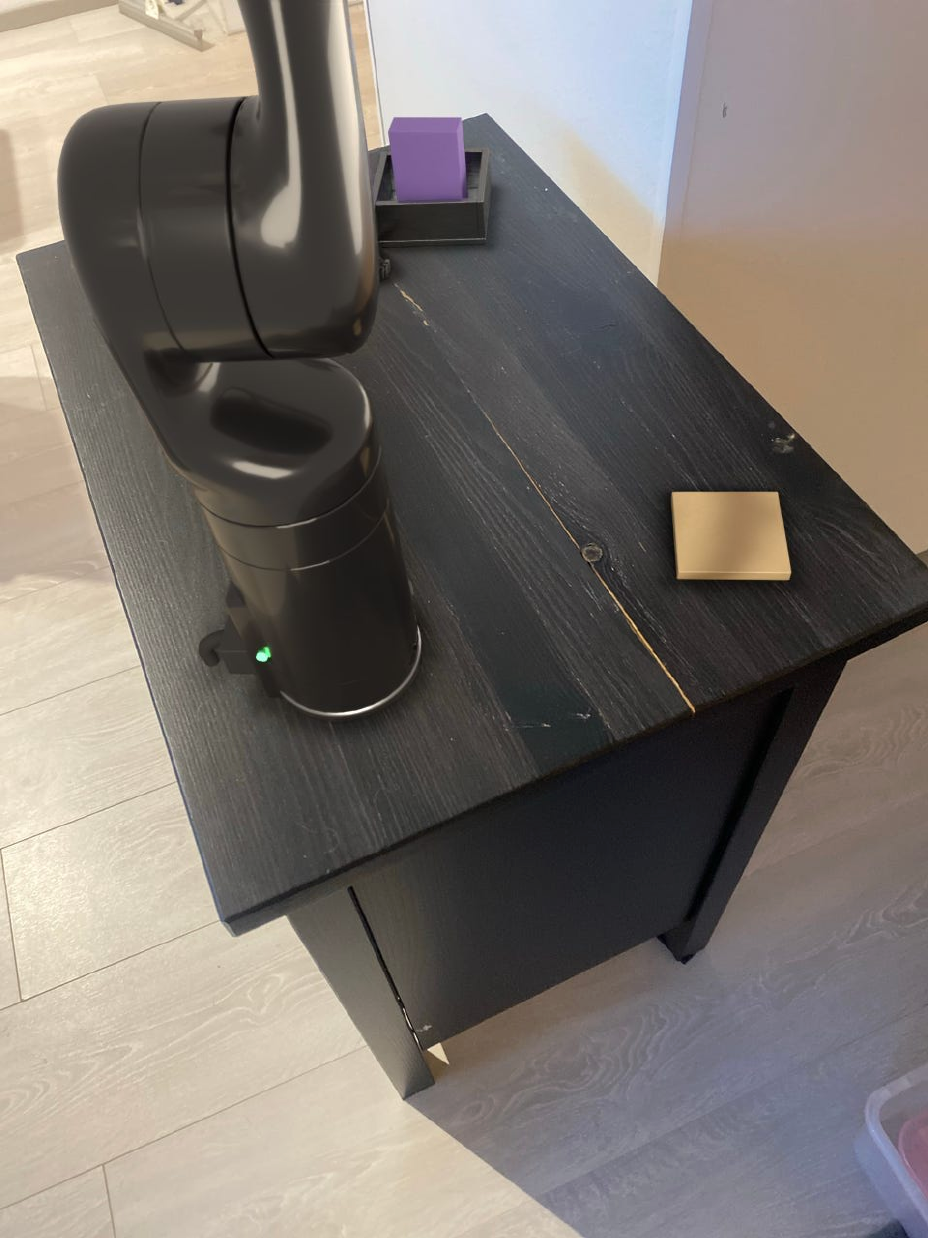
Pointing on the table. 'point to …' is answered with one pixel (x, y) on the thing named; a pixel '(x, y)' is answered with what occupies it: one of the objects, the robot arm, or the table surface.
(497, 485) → the table surface
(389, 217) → the black tray
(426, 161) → the purple rectangular block
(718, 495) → the coaster
